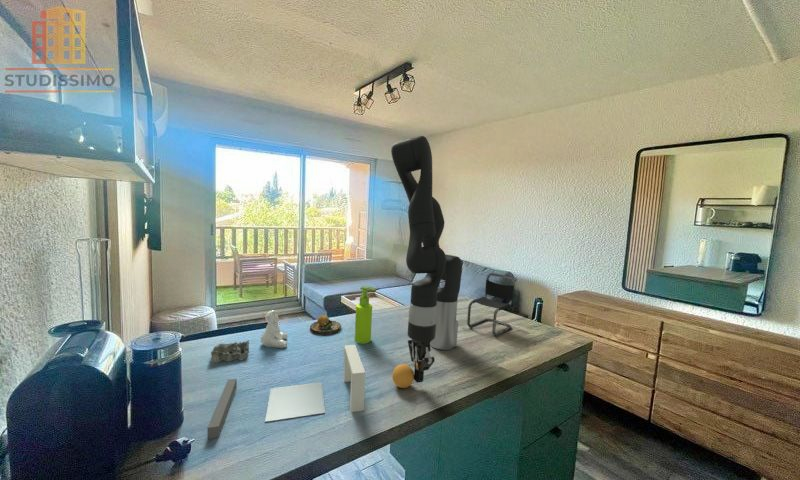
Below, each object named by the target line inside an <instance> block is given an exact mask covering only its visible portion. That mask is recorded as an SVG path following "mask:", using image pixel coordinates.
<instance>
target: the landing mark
mask: <svg viewBox="0 0 800 480" xmlns="http://www.w3.org/2000/svg"><path fill="white" fill-rule="evenodd" d="M324 414H326V409H325V399H324V390H323V382H322V381H319V382H311V383H304V384H302V383H301V384H295V385H288V386H287V385H286V386H279V387H270V390H269V397H268V403H267V408H266V415H265V420H264V423H270V422H271V423H272V422H278V421H283V420H289V419H298V418H303V417H310V416H312V417H313V416H317V415H324Z"/></svg>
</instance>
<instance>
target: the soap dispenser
mask: <svg viewBox="0 0 800 480" xmlns="http://www.w3.org/2000/svg"><path fill="white" fill-rule="evenodd" d="M376 289H377V288H375V287H372V286H361V287H360V290H361V295H359V303H357V304H356V305H355V323H354V325H355V326H354V341H355V343H357V344H364V345H365V344H368V343H370V342H371V340H372V325H373V324H372V323H373V319H372V317H373V305H372V304H371V303H370V295H368V291H372V292H375V291H376Z"/></svg>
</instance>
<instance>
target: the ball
mask: <svg viewBox="0 0 800 480" xmlns="http://www.w3.org/2000/svg"><path fill="white" fill-rule="evenodd" d="M414 381H415V380H414V370H413V368H412V367H411V366H410V365H408V364H405V363H401V364H398V365H397V366H395V367H394V369H393V371H392V382H393V383H394V384H395V386H397V387H398V388H401V389H407V388H409V387H410V386H411V385H412V384H413V382H414Z"/></svg>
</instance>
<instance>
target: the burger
mask: <svg viewBox="0 0 800 480" xmlns="http://www.w3.org/2000/svg"><path fill="white" fill-rule="evenodd" d="M341 328H342V325H341V323H340V322H337V321H336V320H330V319H329V316H328V315H326V314H325V315H324V314H323V315H321V314H320V316H319V317H318V318H317V321H315V322H313V323H311V324H310V327H309V331H310V333H312V334H315V335H320V336H327V335H333V334H337V333H339V332H340V329H341Z"/></svg>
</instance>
